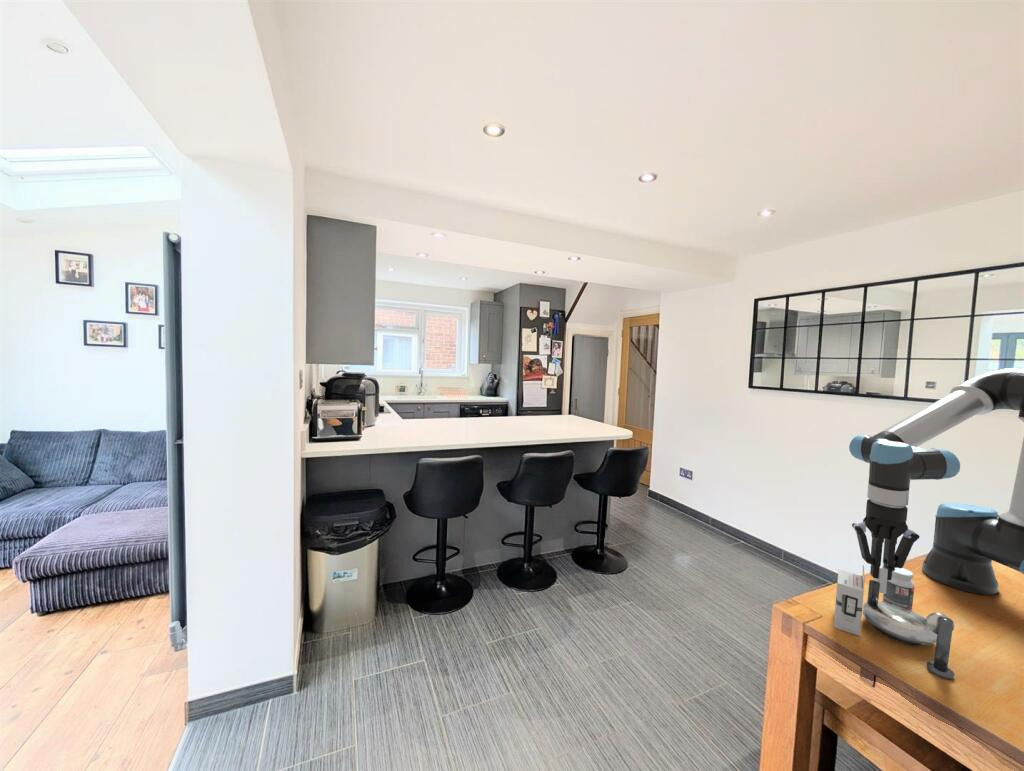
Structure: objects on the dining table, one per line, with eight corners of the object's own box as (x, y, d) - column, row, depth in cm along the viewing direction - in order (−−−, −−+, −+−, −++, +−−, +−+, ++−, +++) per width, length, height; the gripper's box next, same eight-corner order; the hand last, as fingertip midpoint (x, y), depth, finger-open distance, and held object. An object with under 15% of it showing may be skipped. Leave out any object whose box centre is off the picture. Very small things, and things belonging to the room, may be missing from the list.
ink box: (834, 610, 103) (839, 557, 102) (859, 618, 100) (864, 564, 98) (833, 627, 96) (838, 571, 95) (860, 637, 93) (866, 579, 92)
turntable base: (897, 619, 100) (897, 612, 100) (935, 645, 91) (936, 638, 91) (862, 619, 100) (863, 612, 100) (897, 645, 91) (898, 638, 91)
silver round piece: (849, 605, 102) (851, 578, 101) (900, 607, 101) (903, 580, 101) (895, 642, 89) (899, 611, 88) (955, 645, 88) (959, 614, 88)
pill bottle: (916, 615, 102) (920, 579, 101) (887, 608, 104) (890, 573, 103) (906, 602, 107) (910, 568, 106) (879, 596, 109) (882, 562, 108)
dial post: (960, 681, 81) (967, 626, 80) (935, 677, 82) (941, 623, 81) (944, 666, 85) (950, 614, 84) (920, 662, 86) (926, 610, 85)
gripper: (911, 500, 100) (903, 587, 102) (848, 494, 105) (842, 577, 107) (930, 511, 93) (921, 604, 95) (861, 504, 98) (854, 592, 100)
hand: (879, 589), depth 101 cm, fingers closed
